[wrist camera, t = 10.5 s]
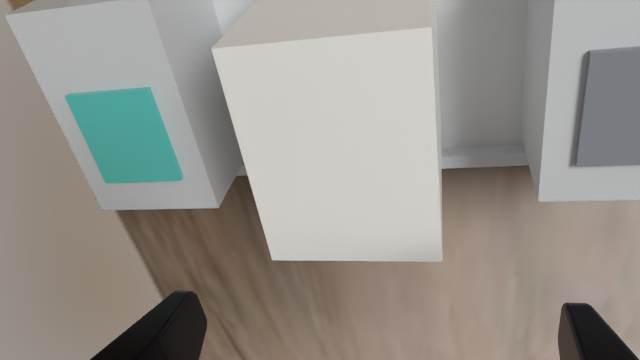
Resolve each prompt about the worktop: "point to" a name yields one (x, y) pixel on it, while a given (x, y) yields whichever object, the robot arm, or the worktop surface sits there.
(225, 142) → the block
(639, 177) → the block
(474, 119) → the rail board
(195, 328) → the robot arm
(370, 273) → the worktop surface
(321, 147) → the block
